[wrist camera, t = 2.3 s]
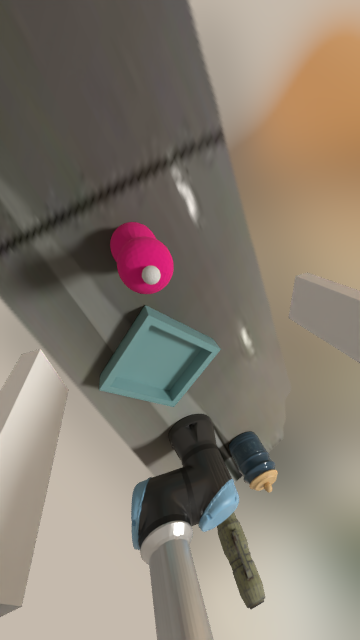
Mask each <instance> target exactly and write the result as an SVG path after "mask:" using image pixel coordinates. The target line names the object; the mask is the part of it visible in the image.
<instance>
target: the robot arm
mask: <svg viewBox="0 0 360 640" xmlns="http://www.w3.org/2000/svg"><path fill="white" fill-rule="evenodd" d="M289 319H291V320H292V321H294V322H296V323H297V324H299V325H300V326H302V327H304V328H305V329H307V330H308V331H310V332H311V333H313V334H315V335H316V336H318V337H319V338H321V339H323V340H324V341H326V342H327V343H329V344H330V345H332V346H333V347H335V348H337V349H338V350H340V351H341V352H343V353H345V354H346V355H348V356H349V357H351V358H352V359H354V360H356V361H357V362H359V363H360V291H359V290H357V289H353V288H351V287H348V286H345V285H342V284H339V283H336V282H333V281H330V280H327V279H325V278H322V277H318V276H316V275H313V274H310V273H304V274H301V275H297V276H296V277H295V283H294V289H293V295H292V302H291V307H290V313H289ZM68 391H69V390H68V388H67V387H66V386H65V384H64V382H63V381H62V380H61V378H60V377H59V375H58V374H57V372H56V371H55V369H54V368H53V366H52V365H51V363H50V362H49V361H48V359H47V358H46V356H45V355H44V353H43V352H42V350H41V349H38V350H35V351H32V352H28V353H24V354H21V356H20V358H19V360H18V361H17V363H16V365H15V367H14V368H13V370H12V372H11V373H10V375H9V377H8V379H7V380H6V382H5V384H4V385H3V387H2V389H1V391H0V617H1V616H3V615H5V614H7V613H9V612H11V611H13V610H16V609H18V608H19V607H22V603H23V598H24V594H25V589H26V585H27V580H28V575H29V571H30V566H31V562H32V557H33V552H34V548H35V543H36V538H37V534H38V529H39V525H40V520H41V515H42V511H43V506H44V502H45V497H46V492H47V488H48V483H49V478H50V474H51V469H52V465H53V459H54V455H55V450H56V446H57V442H58V437H59V432H60V428H61V423H62V418H63V413H64V409H65V404H66V400H67V395H68ZM169 439H170V443H171V446H172V447H173V448H174V450H175V452H176V453H177V455H178V457H179V458H180V460H181V462H182V465H183V467H182V468H179V469H176V470H174V471H171V472H168V473H165V474H162V475H159V476H156V477H153V478H151V477H150V478H148V479H147V480H145V481H142V482H140V483H138V484H137V485H136V486H135V488H134V491H133V497H132V511H131V512H132V513H131V515H132V517H131V519H132V541H133V546H134V548H135V549H138V550H139V549H140V553H141V558H142V559H143V560H144V561H145V562H146V563H147V564H148V565H149V567H150V576H151V586H152V595H153V604H154V614H155V623H156V633H157V640H213V636H212V632H211V629H210V624H209V621H208V616H207V613H206V609H205V605H204V601H203V597H202V593H201V589H200V585H199V582H198V578H197V574H196V570H195V566H194V562H193V558H192V554H191V550H190V547H189V545H190V542H191V540H192V537H193V530H192V527H191V526H193V525H196V524H199V528H200V529H201V530H202V531H207V530H211V529H213V528H215V527H216V526H218V525H219V524H221V523H222V522H223V521H224V520H226V519H227V518H228V517H229V516H230V515H231V514H232V513H233V512H234V511H235V509H236V508H237V506H238V503H239V496H238V493H237V490H236V488H235V485H234V481H233V479H232V478H231V476H230V473H229V471H228V469H227V467H226V465H225V462H224V460H223V458H222V456H221V454H220V452H219V449H218V447H217V445H216V439H215V434H214V426H213V423H212V421H211V419H210V417H208V416H207V415H204V414H195V415H191V416H188V417H186V418H184V419H182V420H180V421H179V422H177V423H176V424H175V425H174V426H173V427H172V429H171V430H170V432H169Z"/></svg>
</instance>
